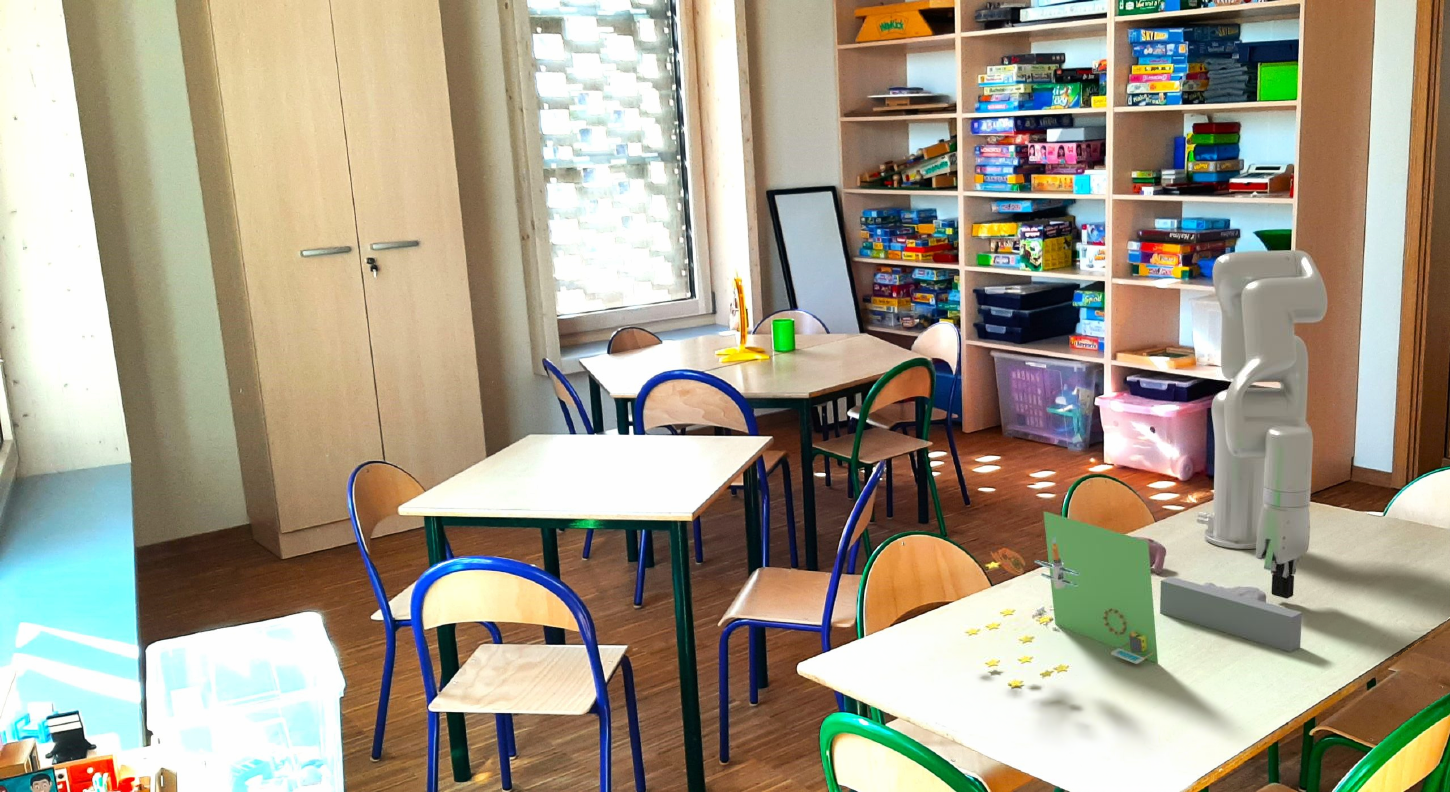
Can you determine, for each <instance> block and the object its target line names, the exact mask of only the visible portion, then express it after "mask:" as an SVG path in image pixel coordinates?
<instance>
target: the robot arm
mask: <svg viewBox="0 0 1450 792" xmlns="http://www.w3.org/2000/svg"><path fill="white" fill-rule="evenodd" d="M1212 283H1213V288H1214V292H1215V294H1216V297H1217V301H1218V303H1219V304H1218V305H1219V306H1220V311H1221V334H1220V336H1221V339H1220V342H1221V343H1220V368H1221V372H1222V374H1223V377H1224V378H1225V379H1226V380H1228V381H1230V382H1231V383H1230V385H1229V386H1228V388H1227V389H1225V390H1221V391H1220V392H1218V393H1217V394H1215V396H1214V398H1213V399H1212V402H1211V418H1212V425H1213V433H1214V434H1213V435H1214V478H1213V481H1214V482H1213V504H1212V505H1213V509H1212V514H1211V513H1209V512H1207V511H1199V512H1198V514H1197V517H1196V522H1197V524H1201V525H1206V526H1207V529H1206V530H1205V531H1204V534H1203V535H1204V539H1205V540H1206V541H1207V542H1208V543H1210V544H1212V545H1215V546H1218V547H1223V548H1229V549H1237V550H1238V549H1239V550H1251V549H1255V556H1256V559H1258V560H1262V559H1264V567H1263V569H1264V570H1265V571H1266V570H1267V571H1270V575H1271V593H1270V594H1271V595H1272V596H1275V597H1279V598H1283V599H1287V600H1288V599H1290V598H1292V597H1293V596H1294V587H1295V585H1294V584H1295V575H1296V572H1297V568H1298V567H1297V565H1298V562H1299V561H1300V560H1301V559H1302V558H1303V557H1304V555H1305V554H1306V553H1308V551H1309V549H1310V548H1309V547H1310V537H1311V536H1310V535H1311V519H1310V507H1311V493H1312V492H1311V491H1312V490H1311V487H1312V469H1313V450H1314V448H1313V447H1314V437H1313V432H1312V427H1311V426H1310V425H1309V423H1308V421H1306V420H1307V410H1308V409H1307V406H1308V404H1307V402H1308V384H1309V383H1308V382H1309V380H1308V378H1309V356H1308V354H1309V353H1308V349H1307V346H1306V344H1305V342H1304V340H1303V339H1302V338H1301V337H1300V336H1298V335H1296V334H1295V325H1294V324H1298V323H1300V324H1305V323H1306V324H1307V323H1311V324H1312V323H1318V322H1320V321H1322V320H1323V318H1324V317H1325V316H1326V313H1327V310H1328V294H1327V289H1326V286H1325V282H1324V279H1323V278H1322V275H1321V274H1320V272H1319V269H1318V267H1317V265H1316V264H1315V262H1314V259H1313V258H1312V257H1311V256H1310V254H1309V253H1308V252H1306V251H1303V250H1297V249H1296V250H1295V249H1294V250H1293V249H1292V250H1291V249H1290V250H1284V249H1283V250H1248V251H1247V250H1246V251H1234V252H1229V253H1224V254H1222V255H1220V256H1219V257H1217V258H1216V260H1215V261H1214V264H1213V267H1212ZM1254 383H1279V385H1280V387H1261V388H1260V387H1250V386H1251V385H1253V384H1254Z"/></svg>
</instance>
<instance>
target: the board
mask: <svg viewBox="0 0 1450 792" xmlns="http://www.w3.org/2000/svg"><path fill="white" fill-rule="evenodd" d="M1159 593H1160V596H1159V597H1160V599H1159V600H1160V601H1159V602H1160V603H1159V604H1160V605H1159V606H1160V607H1159V613H1160V614H1163V615H1165V616H1168V617H1173V618H1175V619H1180V620H1182V621H1185V622H1186V621H1187V622H1189V623H1193V624H1196V625H1200V626H1202V627H1206V628H1209V629H1212V630H1216V631H1219V632H1222V633H1225V634H1228V635H1233V636H1235V637H1239V638H1242V639H1245V640H1249V641H1252V642H1256V643H1259V644H1262V645H1266V646H1269V647H1272V648H1275V649H1278V650H1282V651H1285V652H1289V653H1292V652H1294V651H1296V650H1298V649H1299V648H1301V642H1302V641H1301V640H1302V639H1301V637H1302V621H1303V619H1302V618H1303V615H1302V614H1303V612H1302V611H1298V610H1294V609H1290V608H1287V607H1283V606H1280V605H1275V604H1273V603H1269V602H1267V601H1266V602H1262V601H1258V600H1255V599H1251V598H1247V597H1244V596H1240V595H1236V594H1233V593H1229V592H1225V591H1222V590H1218V589H1214V588H1211V587H1207V586H1203V584H1199V583H1195V582H1191V581H1188V580H1185V579H1181V578H1177V577H1174V576H1168V577H1167V578H1163V579H1161V580H1160V592H1159Z"/></svg>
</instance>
